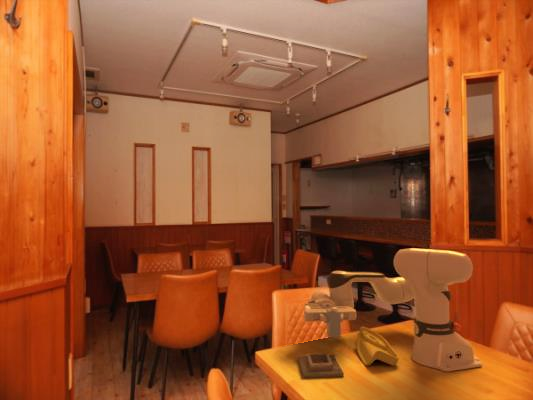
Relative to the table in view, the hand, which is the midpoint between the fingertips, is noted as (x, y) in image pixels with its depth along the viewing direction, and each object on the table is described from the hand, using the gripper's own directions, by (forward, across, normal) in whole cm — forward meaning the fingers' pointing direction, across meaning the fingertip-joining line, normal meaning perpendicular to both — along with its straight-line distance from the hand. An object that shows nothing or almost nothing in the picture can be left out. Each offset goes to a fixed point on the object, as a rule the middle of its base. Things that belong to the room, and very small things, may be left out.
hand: (334, 320), depth 134 cm
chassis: (+10, +8, -13) cm, 18 cm away
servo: (-1, 0, -6) cm, 6 cm away
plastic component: (+2, -15, -13) cm, 20 cm away
